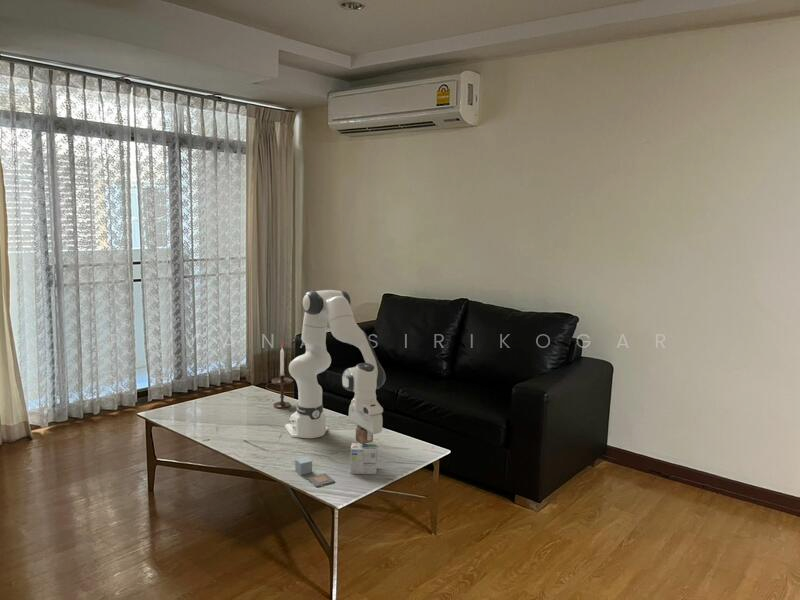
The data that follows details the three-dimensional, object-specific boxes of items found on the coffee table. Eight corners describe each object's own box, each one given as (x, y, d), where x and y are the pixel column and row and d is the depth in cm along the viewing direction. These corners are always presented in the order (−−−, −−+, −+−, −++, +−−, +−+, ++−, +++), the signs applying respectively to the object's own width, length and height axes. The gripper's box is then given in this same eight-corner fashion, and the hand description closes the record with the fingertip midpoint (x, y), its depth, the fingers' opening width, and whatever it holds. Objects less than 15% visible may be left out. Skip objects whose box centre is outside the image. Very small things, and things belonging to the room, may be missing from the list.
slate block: (295, 471, 235) (295, 459, 234) (306, 468, 238) (306, 456, 237) (300, 475, 231) (300, 463, 230) (312, 472, 234) (312, 460, 233)
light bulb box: (376, 467, 240) (377, 442, 239) (376, 474, 234) (377, 449, 232) (350, 467, 240) (351, 442, 238) (350, 474, 233) (350, 448, 232)
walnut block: (355, 440, 236) (355, 428, 235) (366, 437, 239) (366, 426, 238) (362, 444, 232) (362, 432, 231) (372, 441, 235) (372, 430, 234)
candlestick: (287, 401, 320) (287, 339, 315) (295, 407, 311) (295, 343, 306) (268, 404, 314) (268, 341, 309) (276, 410, 305) (275, 345, 300)
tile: (307, 479, 228) (307, 477, 227) (325, 474, 232) (325, 472, 232) (316, 487, 221) (316, 485, 221) (334, 482, 226) (334, 480, 226)
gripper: (345, 398, 239) (344, 430, 241) (372, 412, 223) (371, 447, 225) (358, 395, 243) (357, 427, 245) (385, 410, 227) (384, 443, 229)
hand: (364, 437), depth 235 cm, fingers closed on walnut block, 5 cm apart
